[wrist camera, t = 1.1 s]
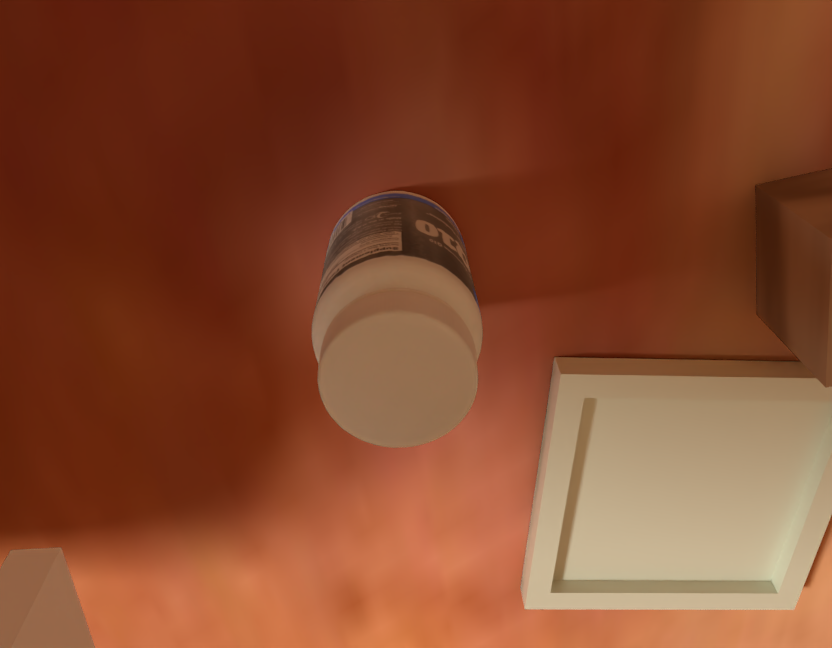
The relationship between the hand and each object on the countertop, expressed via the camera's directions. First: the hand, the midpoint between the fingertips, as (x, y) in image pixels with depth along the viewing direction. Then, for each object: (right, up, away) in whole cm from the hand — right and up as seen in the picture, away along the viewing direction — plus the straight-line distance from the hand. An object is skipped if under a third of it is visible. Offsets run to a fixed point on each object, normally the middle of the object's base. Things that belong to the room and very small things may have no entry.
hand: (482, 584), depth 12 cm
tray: (+10, -2, +19) cm, 21 cm away
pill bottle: (-2, +7, +14) cm, 15 cm away
